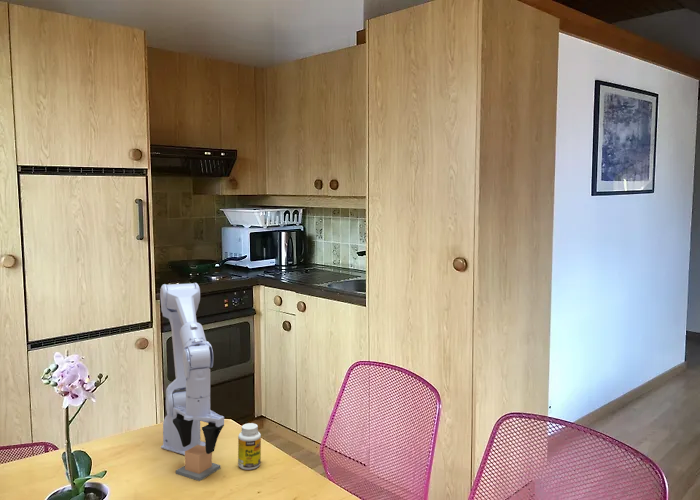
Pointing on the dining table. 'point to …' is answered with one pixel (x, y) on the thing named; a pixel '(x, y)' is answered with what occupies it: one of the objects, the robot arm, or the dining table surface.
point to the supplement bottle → (249, 447)
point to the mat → (195, 475)
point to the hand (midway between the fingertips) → (198, 448)
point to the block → (197, 459)
